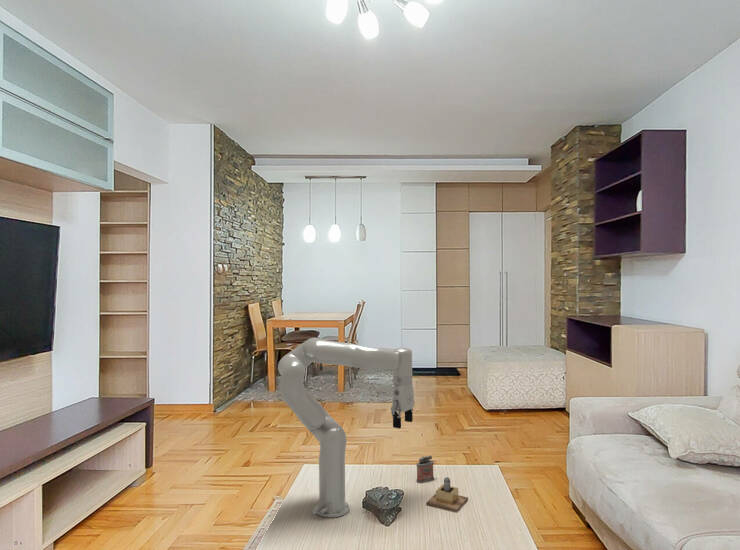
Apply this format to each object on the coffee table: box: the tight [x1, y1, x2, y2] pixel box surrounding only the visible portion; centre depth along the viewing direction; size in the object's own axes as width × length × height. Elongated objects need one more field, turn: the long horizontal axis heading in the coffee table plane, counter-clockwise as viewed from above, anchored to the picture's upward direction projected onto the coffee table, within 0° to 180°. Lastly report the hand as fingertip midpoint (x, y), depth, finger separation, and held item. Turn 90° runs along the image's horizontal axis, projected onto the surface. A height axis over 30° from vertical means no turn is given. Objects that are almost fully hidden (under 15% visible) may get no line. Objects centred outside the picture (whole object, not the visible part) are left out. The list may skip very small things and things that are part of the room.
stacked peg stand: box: [425, 477, 469, 513], centre depth 187 cm, size 12×12×9 cm
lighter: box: [416, 455, 435, 484], centre depth 208 cm, size 8×3×10 cm, turn 118°
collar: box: [435, 484, 459, 505], centre depth 187 cm, size 6×6×4 cm
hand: (402, 424), depth 191 cm, fingers open, 9 cm apart
